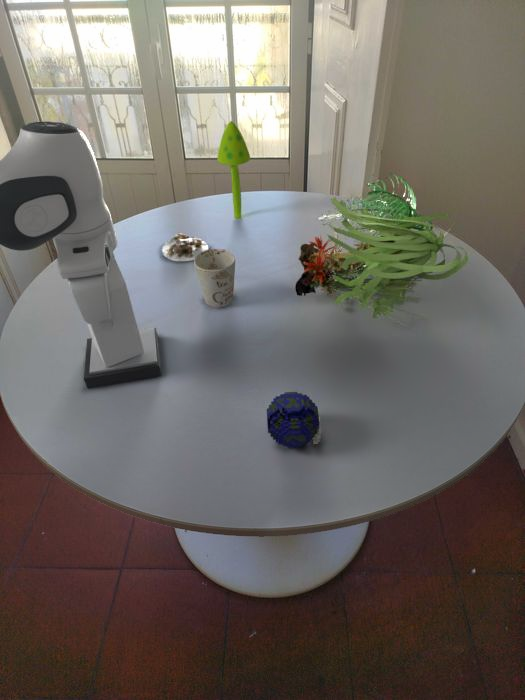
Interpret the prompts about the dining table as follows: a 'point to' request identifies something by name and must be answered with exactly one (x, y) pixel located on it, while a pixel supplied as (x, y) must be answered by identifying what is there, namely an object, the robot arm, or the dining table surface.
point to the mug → (216, 276)
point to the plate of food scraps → (183, 248)
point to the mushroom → (233, 160)
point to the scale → (123, 363)
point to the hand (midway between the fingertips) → (108, 311)
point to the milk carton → (118, 323)
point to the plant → (377, 253)
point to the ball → (293, 420)
